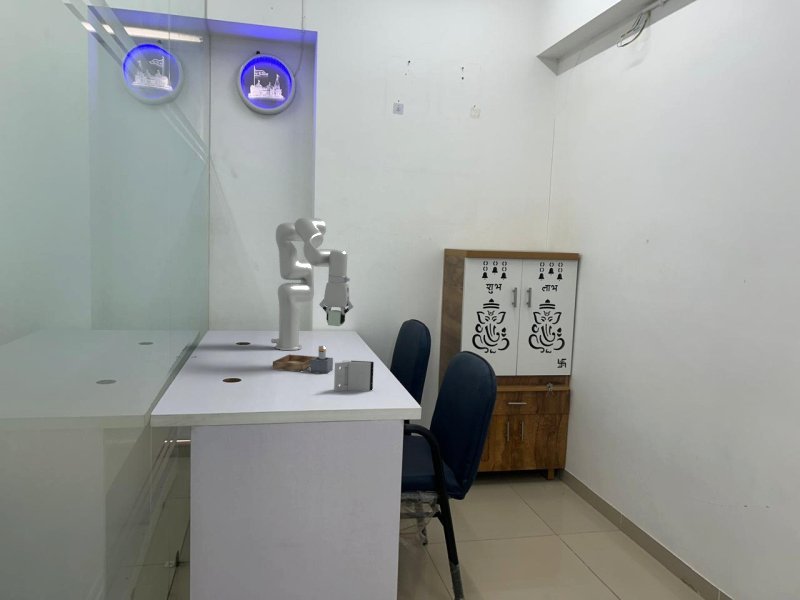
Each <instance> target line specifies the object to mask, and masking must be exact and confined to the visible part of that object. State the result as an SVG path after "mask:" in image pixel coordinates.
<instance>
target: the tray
mask: <svg viewBox="0 0 800 600" xmlns="http://www.w3.org/2000/svg"><path fill="white" fill-rule="evenodd" d="M315 357H316V356H314V355H313V356H312V355H300V354H287V355H284V356H283V357H280V358H278V359H276V360H273V361H272V370H278V369H282V370H281V371H289V370H294V371H293V372H301V371H303V372H305V371H306V370H307V368H308V369H310V368H309V367H310V364H311V359H313V358H315ZM305 369H306V370H305Z"/></svg>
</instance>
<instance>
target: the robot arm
mask: <svg viewBox="0 0 800 600" xmlns="http://www.w3.org/2000/svg"><path fill="white" fill-rule="evenodd" d="M326 232H327V225H326V223H325V221H323V220H322V219H321V218H317V217H299V218H297V220H295V222H283V223H280V224H279V225H277V227H276V230H275V241H276V245H277V249H278V257H279V259H278V260H279V274H280V277H281V278H282V279H283V280H286V281H287V280H289V281H300V282H284V283H281V284H280V285H279V287H278V289H277V297H278V305H279V306H278V308H279V311H278V313H279V314H278V317H279V318H278V319H279V320H278V321H279V322H278V338H277V339H276V338H271V339H270V342H271V344H275V347H274V348H275V349H276V350H279V349H280V351H298V349H299V350H301V349H303V346H302V344H300V310H299V307H298V306H297V305H296V303H309V302H311V301H312V300H313V299H314V295H315V283H314V269H313V266H314V267H318V268H319V267H323V268H325V267H326V268H328V279H327V280H328V282H327V283H326V284H325V289H324V295H323V299H322V300H321V301H320V303H319V304H318V305H319V307H320V308H321V309H323V311H324V312H325V314H326V317H325V318H326V323H327V324H328V312H329V311H330V310H332V308H340V311H341V312H342V313H341V317H340V324H344V323H345V322H346V314H347V313H348V312H349V311H350V310H352V309H354V305H353V303H352V302H351V301H350V287H349V284H348V283H347V282H350V280H351V279H350V278H349V277H348V276H347V274H348V273H347V272H348V253H347V251H345V250H338V249H330V248H320V246H321V245H322V244H323V242H324V236H325V234H326ZM292 242H303V248H302V249H303V256H304V257H305V259H306V260H301V259H298V250H297V248H296V246H295V245H294V243H292ZM346 307H347V308H346Z"/></svg>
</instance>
